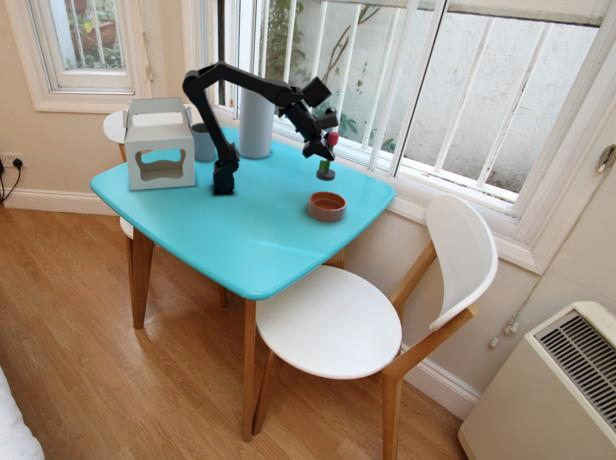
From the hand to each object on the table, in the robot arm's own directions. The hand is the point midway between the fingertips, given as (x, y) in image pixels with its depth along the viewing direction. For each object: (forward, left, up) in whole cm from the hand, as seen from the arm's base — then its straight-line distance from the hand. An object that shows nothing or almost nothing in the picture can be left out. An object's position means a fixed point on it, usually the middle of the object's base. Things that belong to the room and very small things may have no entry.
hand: (333, 159), depth 113 cm
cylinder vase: (-16, +36, -13) cm, 42 cm away
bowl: (-3, -9, -13) cm, 16 cm away
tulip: (-1, +1, -6) cm, 6 cm away
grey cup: (-36, +34, -13) cm, 51 cm away
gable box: (-52, +18, -13) cm, 57 cm away
